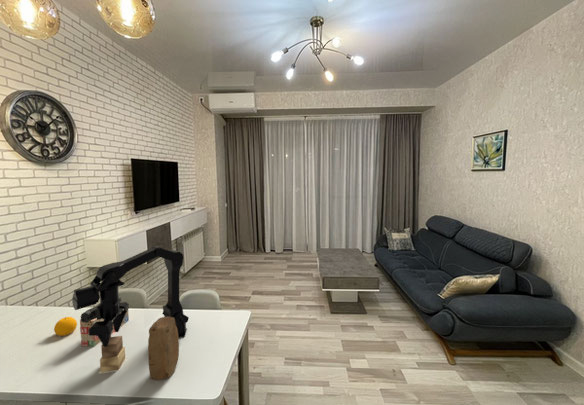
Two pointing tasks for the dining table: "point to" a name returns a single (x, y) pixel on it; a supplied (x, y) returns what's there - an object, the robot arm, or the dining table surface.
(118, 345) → the walnut cube
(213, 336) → the dining table surface
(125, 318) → the stack of blocks
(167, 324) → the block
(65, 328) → the orange
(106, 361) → the oak base block
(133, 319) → the dining table surface
